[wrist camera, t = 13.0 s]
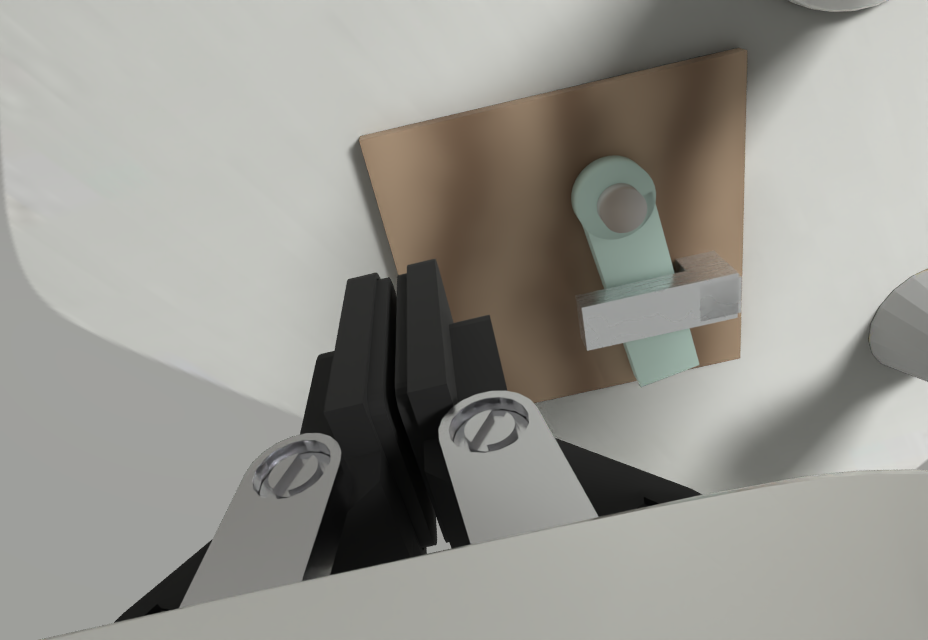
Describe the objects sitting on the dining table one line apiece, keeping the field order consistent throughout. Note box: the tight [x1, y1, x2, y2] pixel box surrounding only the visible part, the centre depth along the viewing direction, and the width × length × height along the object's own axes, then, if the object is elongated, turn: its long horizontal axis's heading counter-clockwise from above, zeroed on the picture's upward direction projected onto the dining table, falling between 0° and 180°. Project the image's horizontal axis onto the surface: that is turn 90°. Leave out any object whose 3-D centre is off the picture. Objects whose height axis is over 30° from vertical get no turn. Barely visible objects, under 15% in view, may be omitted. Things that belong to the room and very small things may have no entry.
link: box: [571, 155, 699, 387], centre depth 38 cm, size 15×4×2 cm, turn 23°
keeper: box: [576, 251, 742, 351], centre depth 38 cm, size 9×3×4 cm, turn 102°
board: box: [359, 48, 747, 403], centre depth 37 cm, size 21×20×4 cm
